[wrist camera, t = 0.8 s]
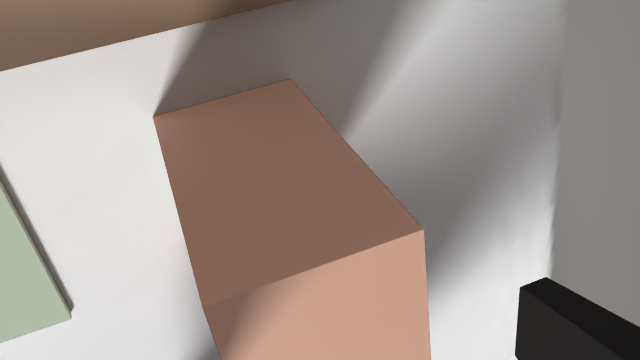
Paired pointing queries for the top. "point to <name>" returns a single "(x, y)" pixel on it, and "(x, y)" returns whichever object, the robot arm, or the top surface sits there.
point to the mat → (24, 280)
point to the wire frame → (97, 23)
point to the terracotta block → (293, 233)
